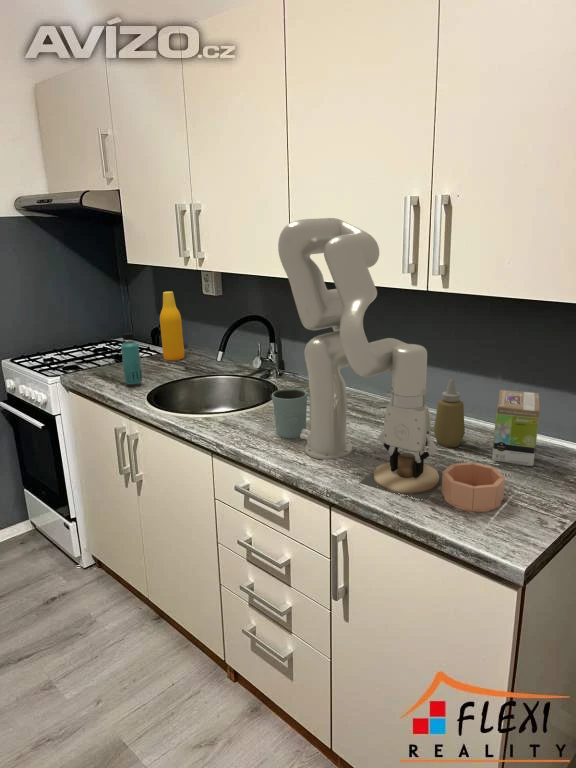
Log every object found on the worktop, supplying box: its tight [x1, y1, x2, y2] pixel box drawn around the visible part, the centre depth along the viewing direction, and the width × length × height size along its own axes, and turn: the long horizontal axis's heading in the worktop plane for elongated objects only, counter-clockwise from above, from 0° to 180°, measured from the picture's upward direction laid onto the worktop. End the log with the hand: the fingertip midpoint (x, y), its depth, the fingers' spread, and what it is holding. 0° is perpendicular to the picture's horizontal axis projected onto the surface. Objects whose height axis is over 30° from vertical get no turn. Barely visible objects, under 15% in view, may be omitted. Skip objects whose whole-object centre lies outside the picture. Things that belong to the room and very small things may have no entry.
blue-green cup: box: [271, 388, 308, 439], centre depth 168 cm, size 10×10×12 cm
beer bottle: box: [159, 291, 185, 362], centre depth 254 cm, size 9×9×29 cm
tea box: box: [491, 389, 541, 467], centre depth 149 cm, size 15×10×15 cm, turn 158°
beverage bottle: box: [120, 332, 143, 385], centre depth 217 cm, size 6×7×20 cm
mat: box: [359, 460, 443, 502], centre depth 138 cm, size 16×16×1 cm
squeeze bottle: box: [433, 379, 466, 449], centre depth 155 cm, size 8×8×18 cm
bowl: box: [441, 461, 506, 513], centre depth 128 cm, size 12×12×6 cm
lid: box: [373, 452, 439, 494], centre depth 137 cm, size 15×15×6 cm
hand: (406, 472), depth 138 cm, fingers open, 5 cm apart
